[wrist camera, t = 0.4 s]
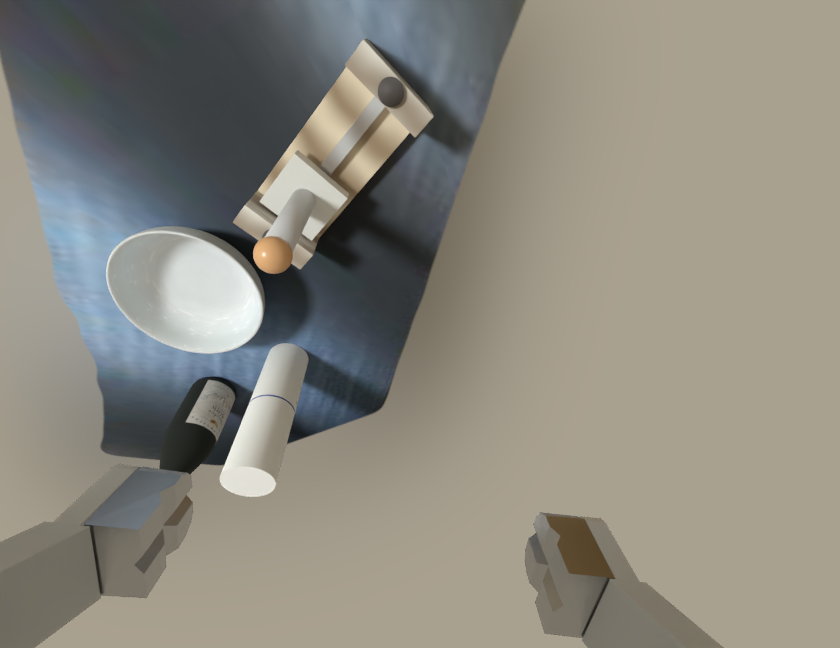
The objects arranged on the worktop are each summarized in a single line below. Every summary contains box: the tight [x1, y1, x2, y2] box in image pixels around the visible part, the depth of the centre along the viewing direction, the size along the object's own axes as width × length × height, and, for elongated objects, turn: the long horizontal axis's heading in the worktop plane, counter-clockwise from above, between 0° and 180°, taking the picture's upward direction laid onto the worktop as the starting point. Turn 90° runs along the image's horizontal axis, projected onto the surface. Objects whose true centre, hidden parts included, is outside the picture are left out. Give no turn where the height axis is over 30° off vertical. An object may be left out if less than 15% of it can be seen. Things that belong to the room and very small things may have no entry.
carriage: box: [253, 150, 349, 274], centre depth 44 cm, size 8×8×20 cm
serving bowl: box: [106, 226, 265, 353], centre depth 59 cm, size 21×21×7 cm
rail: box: [233, 39, 434, 269], centre depth 49 cm, size 26×10×7 cm, turn 136°
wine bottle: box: [160, 377, 236, 474], centre depth 64 cm, size 8×8×30 cm
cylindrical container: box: [220, 343, 309, 497], centre depth 62 cm, size 7×7×25 cm
